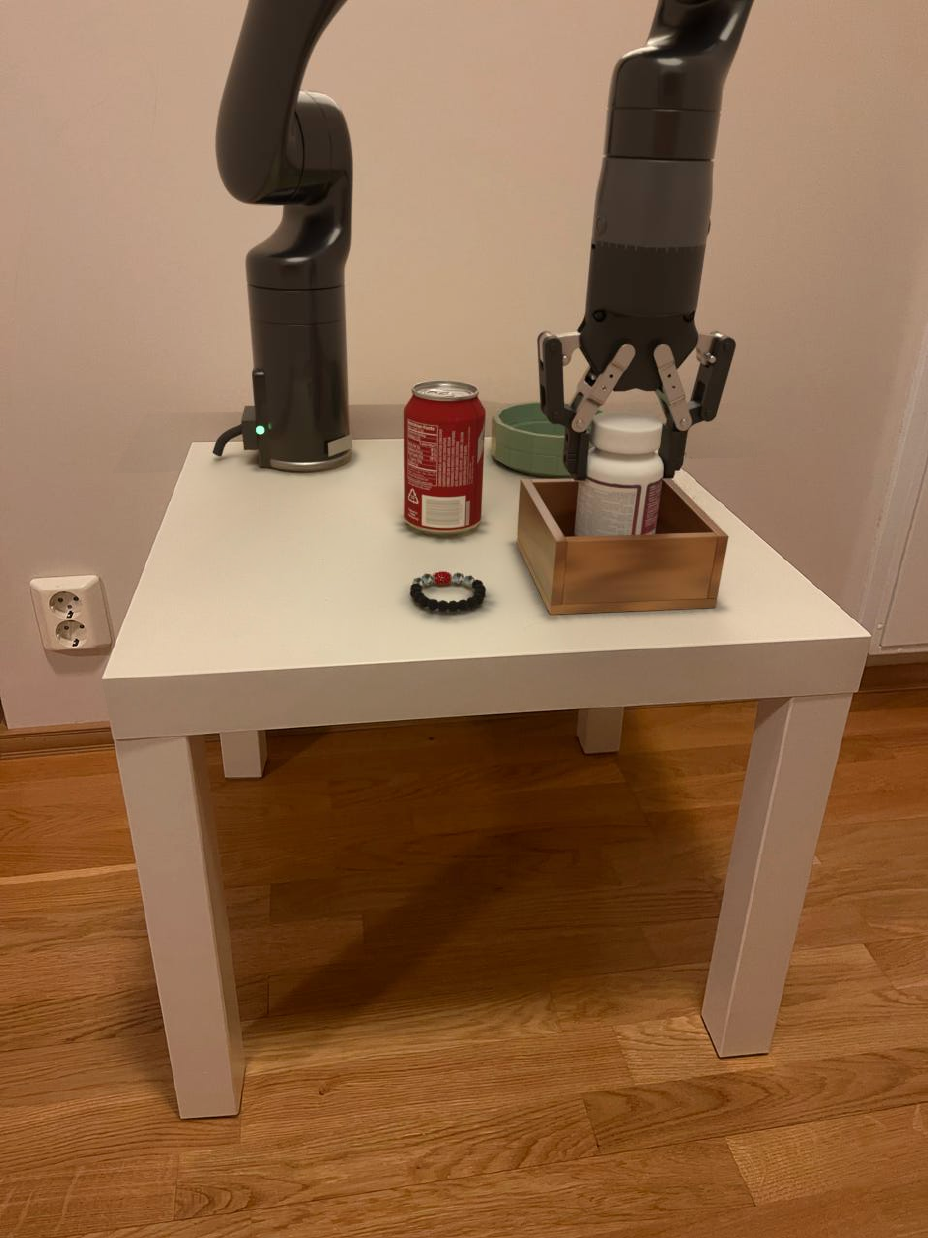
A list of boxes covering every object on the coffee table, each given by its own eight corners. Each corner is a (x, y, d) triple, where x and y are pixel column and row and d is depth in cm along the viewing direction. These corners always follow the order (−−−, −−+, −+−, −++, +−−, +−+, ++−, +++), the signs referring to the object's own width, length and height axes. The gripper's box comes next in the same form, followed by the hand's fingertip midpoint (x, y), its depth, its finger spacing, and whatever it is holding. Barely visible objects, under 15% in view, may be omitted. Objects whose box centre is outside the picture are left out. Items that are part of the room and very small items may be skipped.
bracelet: (479, 578, 70) (479, 567, 70) (492, 613, 65) (493, 601, 65) (405, 582, 69) (405, 570, 69) (414, 617, 64) (414, 604, 64)
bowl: (504, 482, 90) (506, 438, 88) (482, 441, 101) (484, 401, 99) (632, 479, 92) (637, 436, 89) (597, 439, 103) (601, 400, 101)
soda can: (472, 544, 76) (478, 402, 70) (395, 535, 77) (394, 395, 72) (487, 514, 82) (493, 381, 76) (414, 507, 83) (415, 375, 77)
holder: (550, 615, 65) (556, 541, 63) (516, 544, 76) (520, 478, 74) (716, 608, 67) (729, 535, 64) (660, 540, 78) (669, 475, 75)
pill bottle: (626, 541, 75) (643, 405, 69) (665, 572, 70) (687, 428, 64) (558, 550, 73) (570, 411, 67) (593, 583, 68) (610, 435, 62)
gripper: (729, 230, 64) (694, 458, 72) (530, 227, 62) (516, 462, 70) (776, 243, 58) (731, 492, 66) (556, 239, 56) (537, 496, 64)
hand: (620, 475), depth 68 cm, fingers closed on pill bottle, 6 cm apart
